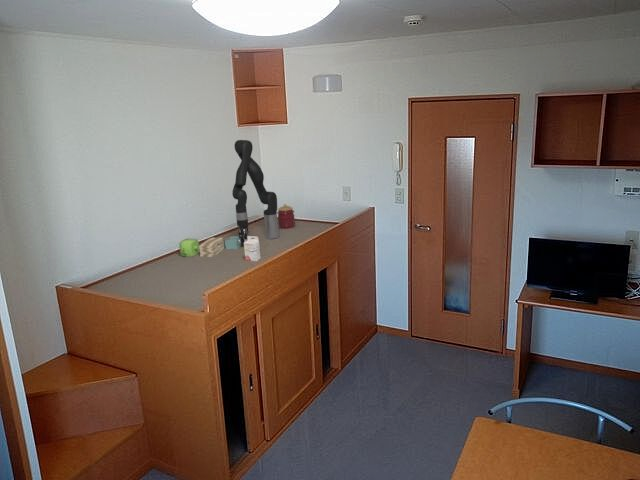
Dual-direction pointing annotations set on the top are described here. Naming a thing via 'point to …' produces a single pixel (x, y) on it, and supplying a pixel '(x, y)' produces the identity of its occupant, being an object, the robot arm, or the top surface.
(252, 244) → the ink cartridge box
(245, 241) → the axle
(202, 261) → the top surface
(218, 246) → the beam
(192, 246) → the green cube pot
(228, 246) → the v block
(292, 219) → the canister
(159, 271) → the top surface
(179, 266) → the top surface
